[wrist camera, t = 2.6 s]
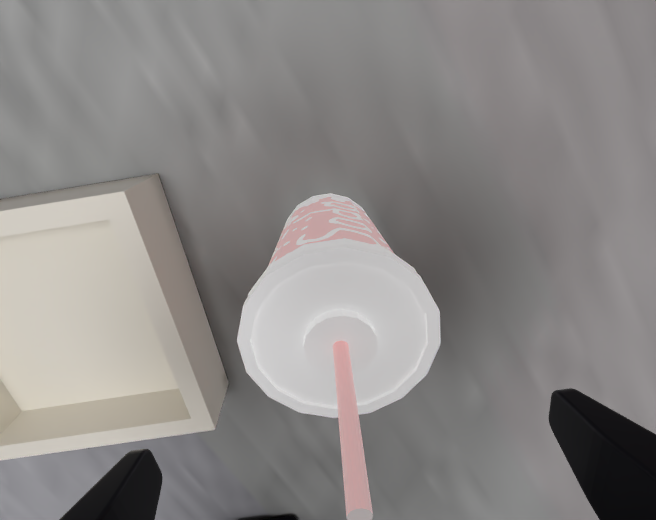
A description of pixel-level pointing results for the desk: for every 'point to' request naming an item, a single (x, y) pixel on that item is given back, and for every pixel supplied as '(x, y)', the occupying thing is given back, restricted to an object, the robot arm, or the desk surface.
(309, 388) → the beverage cup
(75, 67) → the desk surface
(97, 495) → the robot arm
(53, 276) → the tray
